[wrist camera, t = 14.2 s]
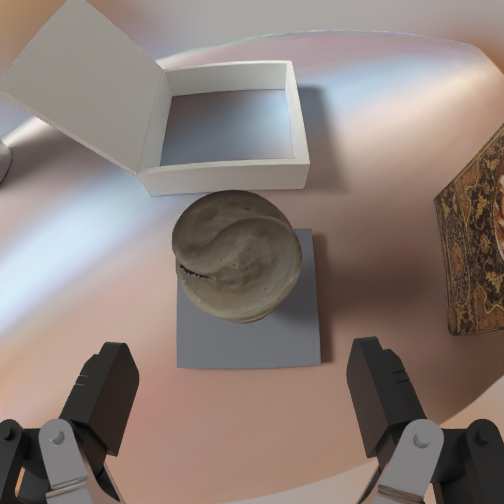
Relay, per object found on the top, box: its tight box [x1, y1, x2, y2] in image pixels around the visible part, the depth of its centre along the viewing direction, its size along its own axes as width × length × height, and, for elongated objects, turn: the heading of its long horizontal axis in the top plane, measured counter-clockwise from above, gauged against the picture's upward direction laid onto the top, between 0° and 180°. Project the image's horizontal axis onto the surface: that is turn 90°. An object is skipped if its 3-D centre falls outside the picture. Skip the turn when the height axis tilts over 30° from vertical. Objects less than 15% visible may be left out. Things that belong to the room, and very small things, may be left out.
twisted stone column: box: [172, 190, 302, 324], centre depth 18 cm, size 6×6×15 cm
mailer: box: [0, 0, 310, 196], centre depth 23 cm, size 23×16×19 cm
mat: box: [177, 229, 321, 369], centre depth 26 cm, size 12×12×2 cm
